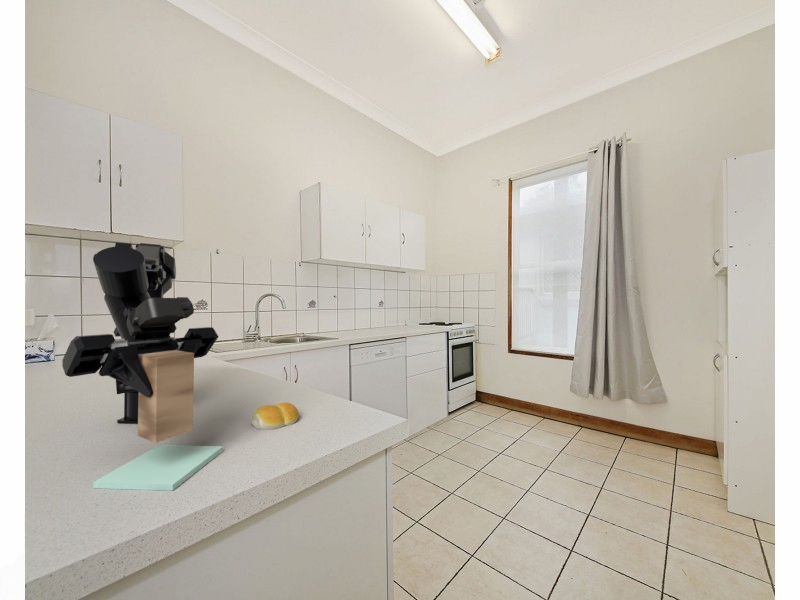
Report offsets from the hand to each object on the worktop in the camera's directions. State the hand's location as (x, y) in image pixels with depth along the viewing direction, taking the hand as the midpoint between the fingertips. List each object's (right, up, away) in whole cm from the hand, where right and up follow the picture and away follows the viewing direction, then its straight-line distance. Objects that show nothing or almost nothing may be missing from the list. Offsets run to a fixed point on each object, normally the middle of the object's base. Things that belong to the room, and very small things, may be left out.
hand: (171, 390), depth 47 cm
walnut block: (-1, -7, +1) cm, 7 cm away
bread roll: (+8, -12, +19) cm, 24 cm away
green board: (-1, -12, 0) cm, 12 cm away
